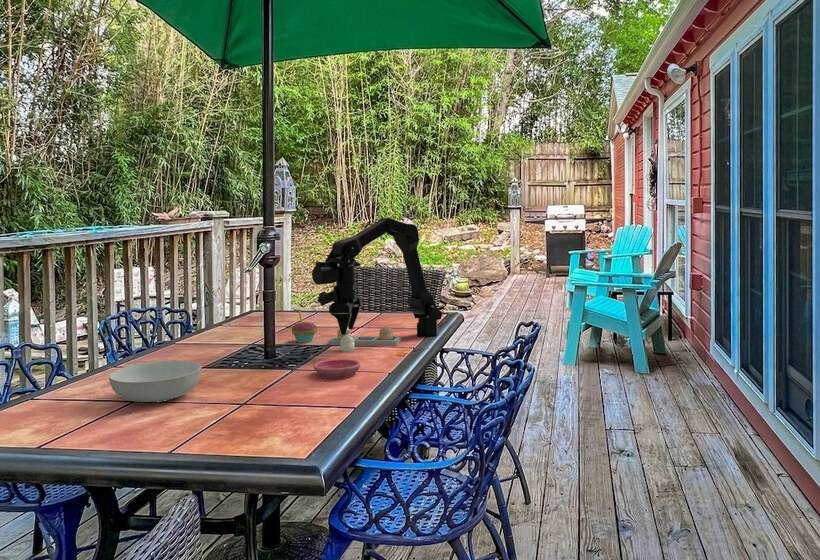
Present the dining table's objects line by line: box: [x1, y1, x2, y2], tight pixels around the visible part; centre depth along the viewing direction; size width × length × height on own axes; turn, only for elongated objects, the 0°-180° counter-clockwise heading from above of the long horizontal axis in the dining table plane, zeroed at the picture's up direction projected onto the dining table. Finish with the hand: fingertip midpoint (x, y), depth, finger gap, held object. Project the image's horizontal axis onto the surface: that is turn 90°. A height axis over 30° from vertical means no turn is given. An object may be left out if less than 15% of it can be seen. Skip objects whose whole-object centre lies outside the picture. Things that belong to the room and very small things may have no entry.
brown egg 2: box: [378, 325, 394, 340], centre depth 221 cm, size 4×4×5 cm
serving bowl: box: [108, 360, 202, 403], centre depth 164 cm, size 21×21×7 cm
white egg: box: [339, 335, 356, 353], centre depth 211 cm, size 4×4×5 cm
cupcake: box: [290, 307, 318, 344], centre depth 227 cm, size 9×8×12 cm
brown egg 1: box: [336, 327, 352, 340], centre depth 223 cm, size 4×4×5 cm
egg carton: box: [327, 335, 402, 347], centre depth 222 cm, size 22×8×2 cm, turn 81°
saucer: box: [313, 358, 361, 380], centre depth 183 cm, size 12×12×3 cm
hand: (347, 332), depth 210 cm, fingers open, 9 cm apart
